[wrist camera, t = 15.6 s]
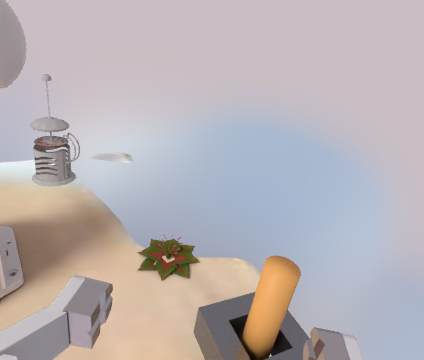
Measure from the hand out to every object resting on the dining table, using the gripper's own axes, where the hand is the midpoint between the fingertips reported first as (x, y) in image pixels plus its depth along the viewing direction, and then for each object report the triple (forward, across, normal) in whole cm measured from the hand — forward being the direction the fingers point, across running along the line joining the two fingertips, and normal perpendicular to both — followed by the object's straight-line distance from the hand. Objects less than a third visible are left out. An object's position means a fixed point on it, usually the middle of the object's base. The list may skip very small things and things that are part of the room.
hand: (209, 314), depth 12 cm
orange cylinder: (+17, -8, +28) cm, 33 cm away
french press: (+54, +41, +29) cm, 74 cm away
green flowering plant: (+33, +7, +29) cm, 44 cm away
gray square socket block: (+17, -8, +28) cm, 33 cm away
